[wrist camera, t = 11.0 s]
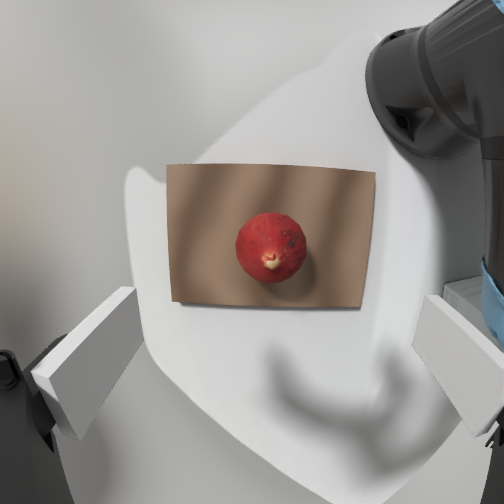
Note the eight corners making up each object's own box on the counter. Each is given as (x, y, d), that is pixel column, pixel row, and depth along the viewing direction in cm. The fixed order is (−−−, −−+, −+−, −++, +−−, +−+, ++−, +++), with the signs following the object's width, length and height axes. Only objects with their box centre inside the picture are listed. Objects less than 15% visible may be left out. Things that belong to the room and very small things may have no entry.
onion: (283, 196, 26) (292, 205, 19) (310, 250, 28) (328, 279, 20) (228, 225, 27) (215, 245, 20) (257, 276, 29) (255, 314, 21)
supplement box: (434, 333, 32) (483, 389, 19) (443, 282, 30) (505, 329, 18) (473, 322, 31) (523, 369, 19) (482, 274, 29) (543, 312, 17)
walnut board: (370, 172, 27) (375, 172, 25) (356, 301, 31) (360, 306, 29) (171, 165, 27) (166, 164, 26) (175, 295, 31) (172, 301, 30)
